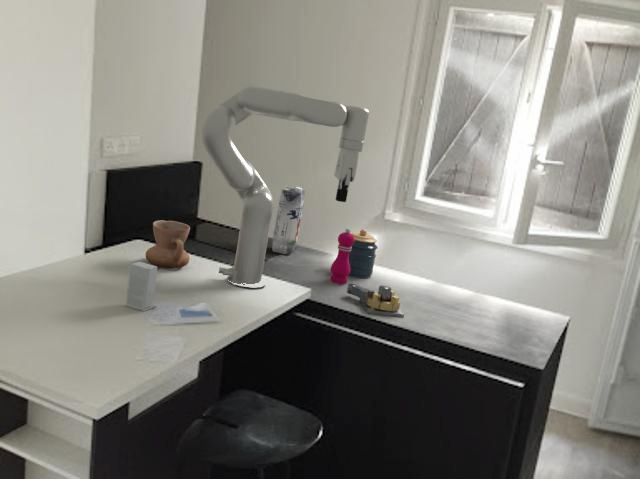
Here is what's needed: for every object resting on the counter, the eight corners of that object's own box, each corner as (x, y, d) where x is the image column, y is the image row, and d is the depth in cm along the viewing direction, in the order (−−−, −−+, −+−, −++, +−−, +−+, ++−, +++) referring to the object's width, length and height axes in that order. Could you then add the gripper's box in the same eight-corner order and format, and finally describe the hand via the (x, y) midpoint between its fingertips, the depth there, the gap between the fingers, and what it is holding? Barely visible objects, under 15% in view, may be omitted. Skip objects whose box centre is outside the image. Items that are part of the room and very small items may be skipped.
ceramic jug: (137, 257, 236) (142, 217, 232) (178, 258, 243) (183, 219, 240) (154, 274, 221) (159, 232, 218) (196, 274, 229) (202, 233, 226)
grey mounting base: (367, 313, 221) (372, 290, 219) (359, 301, 232) (363, 279, 231) (403, 317, 223) (408, 295, 222) (393, 305, 235) (397, 284, 233)
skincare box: (152, 308, 190) (158, 266, 187) (144, 311, 186) (149, 269, 183) (133, 302, 192) (139, 261, 189) (124, 306, 188) (130, 263, 185)
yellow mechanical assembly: (338, 293, 231) (340, 281, 230) (356, 289, 240) (358, 278, 239) (387, 312, 220) (389, 299, 219) (404, 307, 229) (406, 295, 228)
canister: (377, 276, 270) (386, 232, 267) (361, 280, 259) (370, 235, 256) (349, 266, 277) (357, 224, 273) (332, 270, 266) (341, 226, 262)
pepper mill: (346, 286, 247) (356, 232, 243) (326, 281, 249) (336, 227, 245) (349, 281, 254) (359, 229, 250) (330, 277, 256) (340, 224, 251)
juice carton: (269, 251, 277) (280, 185, 272) (275, 246, 287) (286, 183, 282) (291, 256, 276) (302, 190, 270) (296, 251, 286) (307, 187, 281)
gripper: (335, 141, 228) (325, 195, 232) (344, 146, 214) (333, 203, 218) (356, 144, 230) (346, 198, 234) (367, 150, 216) (356, 207, 219)
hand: (340, 201), depth 226 cm, fingers closed
